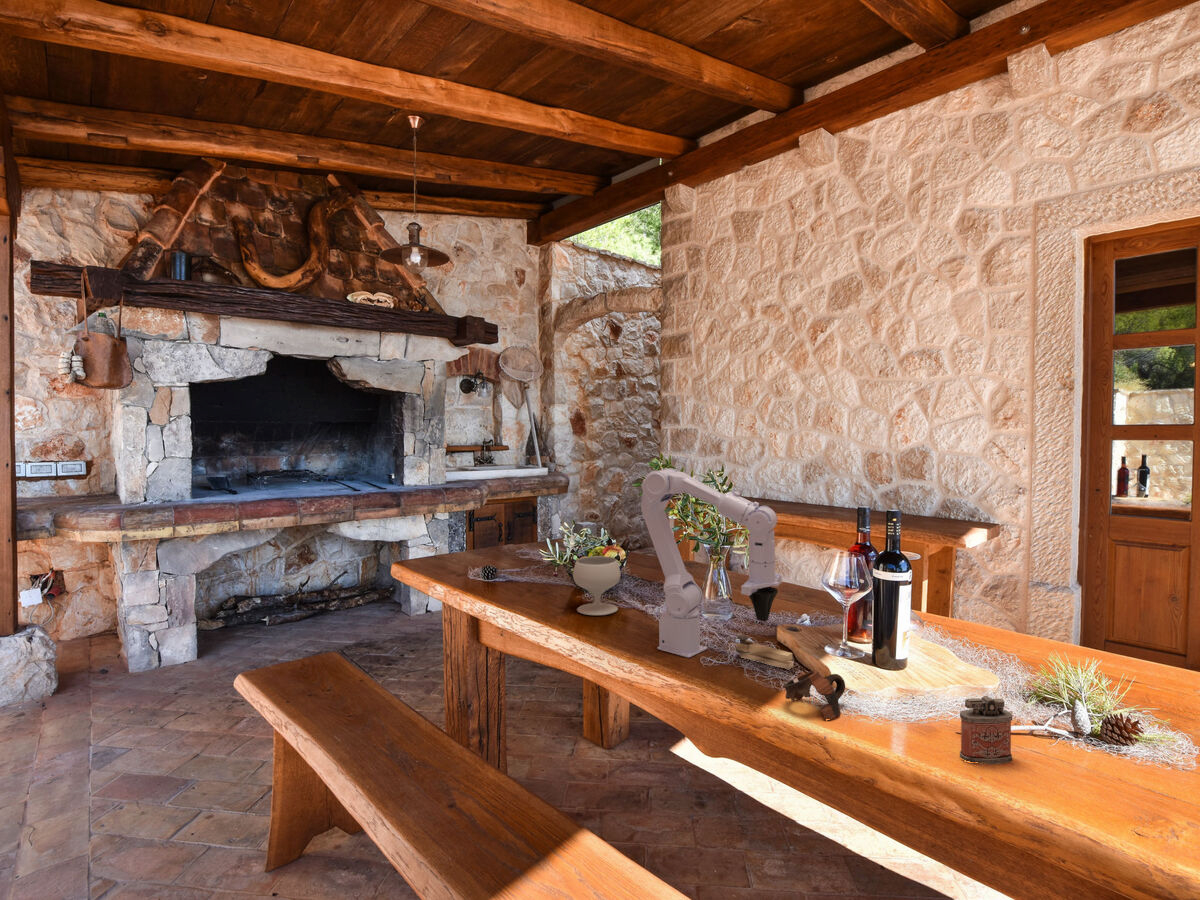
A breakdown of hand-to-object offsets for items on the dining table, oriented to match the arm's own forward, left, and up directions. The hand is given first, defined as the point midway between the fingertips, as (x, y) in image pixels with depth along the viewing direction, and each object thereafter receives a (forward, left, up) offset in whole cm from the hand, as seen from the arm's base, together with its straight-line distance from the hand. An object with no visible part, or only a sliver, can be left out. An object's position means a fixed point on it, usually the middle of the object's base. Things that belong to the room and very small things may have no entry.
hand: (762, 620), depth 147 cm
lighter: (+48, -14, -10) cm, 51 cm away
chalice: (-57, +7, -10) cm, 59 cm away
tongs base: (0, +1, -10) cm, 10 cm away
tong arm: (0, 0, -8) cm, 8 cm away
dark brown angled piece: (+19, -14, -10) cm, 26 cm away
